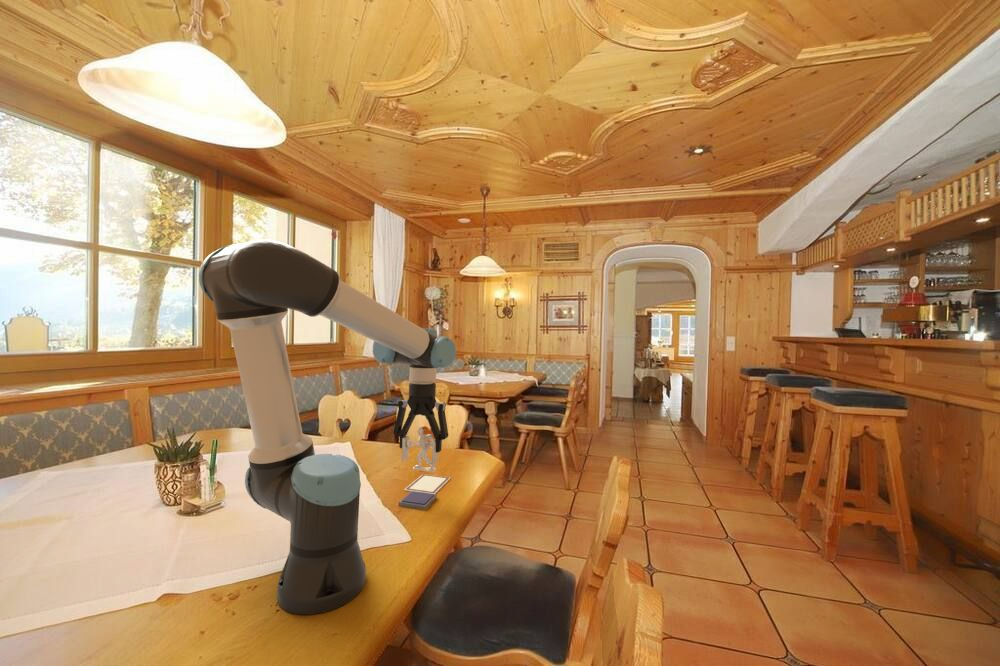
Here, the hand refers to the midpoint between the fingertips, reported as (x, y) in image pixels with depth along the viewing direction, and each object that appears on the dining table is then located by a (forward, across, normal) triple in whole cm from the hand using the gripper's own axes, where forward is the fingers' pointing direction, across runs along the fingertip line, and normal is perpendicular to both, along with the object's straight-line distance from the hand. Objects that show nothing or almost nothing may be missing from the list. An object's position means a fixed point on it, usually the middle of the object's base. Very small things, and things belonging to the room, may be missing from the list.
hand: (419, 461), depth 112 cm
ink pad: (+12, 0, 0) cm, 12 cm away
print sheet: (+12, +2, -13) cm, 17 cm away
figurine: (+3, 0, 0) cm, 3 cm away
